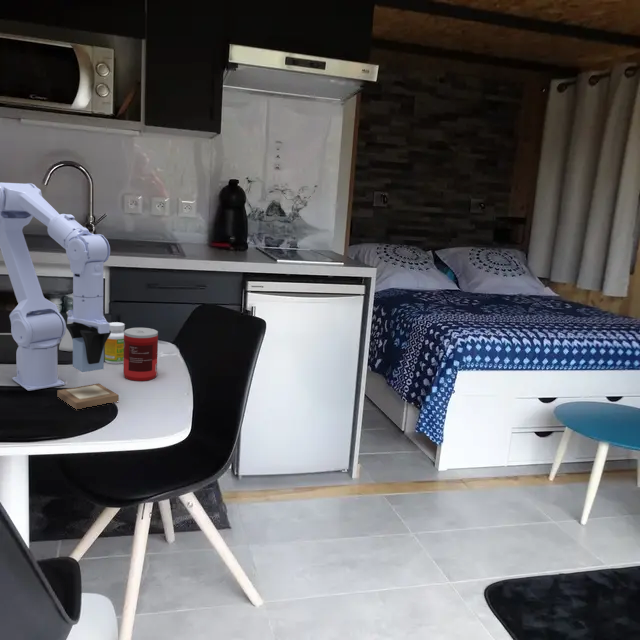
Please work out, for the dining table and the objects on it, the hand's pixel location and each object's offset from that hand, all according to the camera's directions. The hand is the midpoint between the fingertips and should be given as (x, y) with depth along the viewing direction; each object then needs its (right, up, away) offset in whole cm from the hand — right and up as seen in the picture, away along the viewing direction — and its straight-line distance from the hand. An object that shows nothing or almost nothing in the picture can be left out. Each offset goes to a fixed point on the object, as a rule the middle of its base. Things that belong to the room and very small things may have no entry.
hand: (88, 360), depth 130 cm
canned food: (+5, -5, +20) cm, 21 cm away
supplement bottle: (-4, -2, +30) cm, 31 cm away
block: (0, -2, 0) cm, 2 cm away
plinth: (-1, -8, +2) cm, 9 cm away
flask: (-18, 0, +38) cm, 42 cm away
